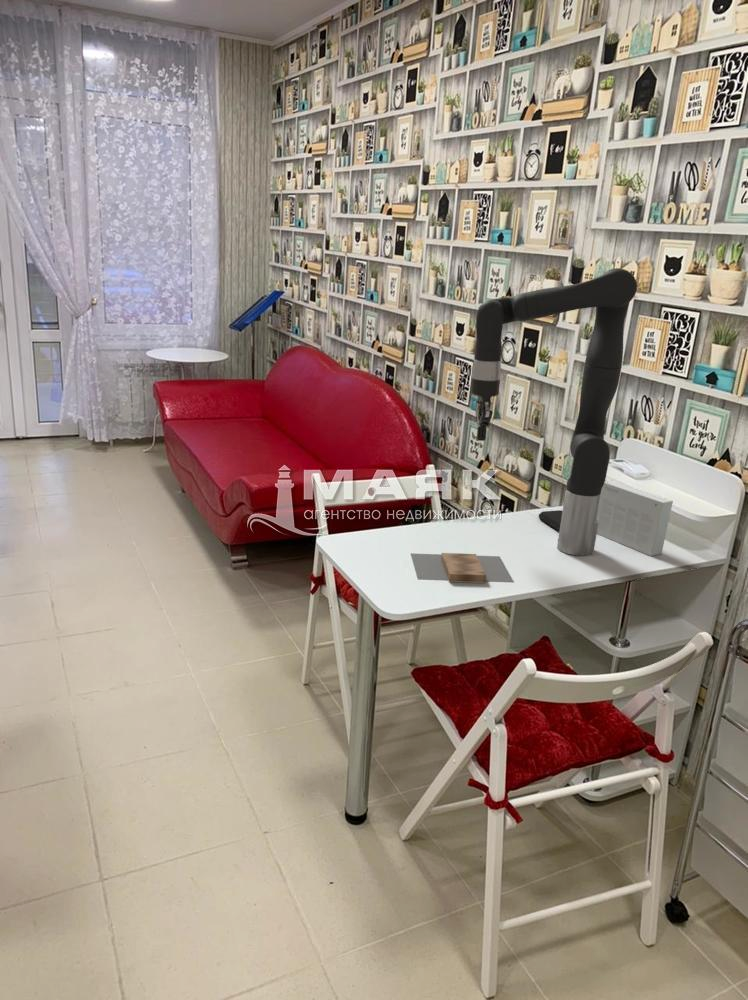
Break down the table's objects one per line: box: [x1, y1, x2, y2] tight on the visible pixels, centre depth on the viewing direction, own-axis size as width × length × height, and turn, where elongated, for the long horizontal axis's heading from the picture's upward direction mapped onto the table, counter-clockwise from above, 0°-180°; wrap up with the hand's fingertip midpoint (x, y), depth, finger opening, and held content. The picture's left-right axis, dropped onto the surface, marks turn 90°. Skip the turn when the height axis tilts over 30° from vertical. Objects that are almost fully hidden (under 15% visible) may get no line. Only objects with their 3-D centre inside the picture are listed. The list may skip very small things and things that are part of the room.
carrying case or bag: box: [538, 509, 563, 533], centre depth 228 cm, size 11×3×15 cm
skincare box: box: [596, 480, 674, 557], centre depth 216 cm, size 21×6×16 cm, turn 35°
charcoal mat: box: [410, 552, 515, 583], centre depth 192 cm, size 24×16×1 cm, turn 94°
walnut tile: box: [441, 552, 486, 584], centre depth 189 cm, size 9×2×13 cm
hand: (480, 439), depth 207 cm, fingers closed
